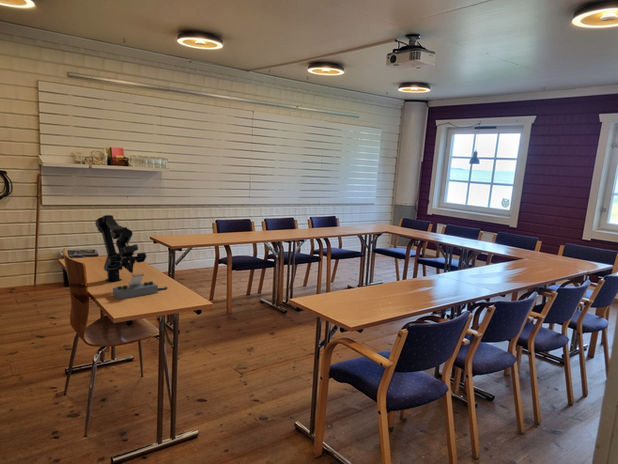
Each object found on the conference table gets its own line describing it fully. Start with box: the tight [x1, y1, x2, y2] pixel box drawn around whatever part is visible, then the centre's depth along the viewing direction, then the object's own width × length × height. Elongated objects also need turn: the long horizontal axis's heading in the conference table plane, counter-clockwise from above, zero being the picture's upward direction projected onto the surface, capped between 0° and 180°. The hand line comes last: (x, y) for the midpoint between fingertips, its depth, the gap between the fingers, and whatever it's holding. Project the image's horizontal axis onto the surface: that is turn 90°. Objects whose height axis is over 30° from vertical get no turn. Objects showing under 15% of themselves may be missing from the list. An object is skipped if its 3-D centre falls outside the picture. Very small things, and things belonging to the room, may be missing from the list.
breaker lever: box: [128, 270, 145, 287], centre depth 222 cm, size 2×5×9 cm
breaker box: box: [112, 281, 168, 300], centre depth 226 cm, size 8×27×5 cm, turn 133°
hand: (131, 272), depth 226 cm, fingers closed
